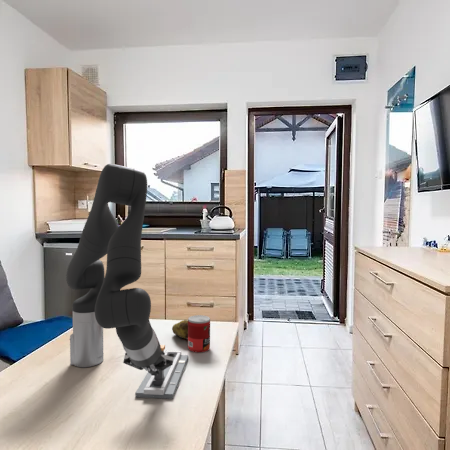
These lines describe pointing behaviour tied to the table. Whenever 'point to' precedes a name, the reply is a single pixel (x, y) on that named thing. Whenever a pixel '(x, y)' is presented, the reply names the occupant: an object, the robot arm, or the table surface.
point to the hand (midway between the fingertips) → (155, 371)
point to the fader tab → (160, 377)
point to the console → (169, 383)
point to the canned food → (199, 333)
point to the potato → (181, 329)
